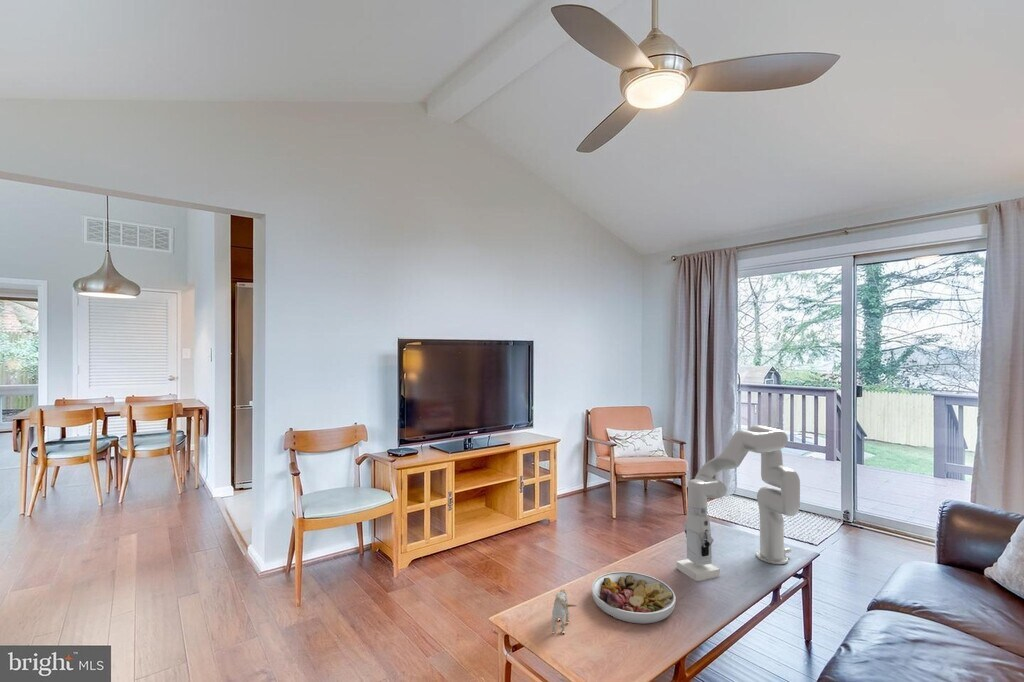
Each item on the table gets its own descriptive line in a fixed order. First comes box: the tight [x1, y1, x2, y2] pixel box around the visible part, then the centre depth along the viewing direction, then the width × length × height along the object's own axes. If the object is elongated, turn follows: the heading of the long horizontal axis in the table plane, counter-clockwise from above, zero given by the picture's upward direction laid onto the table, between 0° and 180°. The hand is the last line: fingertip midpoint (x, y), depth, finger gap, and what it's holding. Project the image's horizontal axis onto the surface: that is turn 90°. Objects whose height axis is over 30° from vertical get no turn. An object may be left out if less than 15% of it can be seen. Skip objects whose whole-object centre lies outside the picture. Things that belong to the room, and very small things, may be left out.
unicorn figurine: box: [551, 588, 578, 633], centre depth 155 cm, size 7×20×13 cm, turn 2°
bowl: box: [591, 571, 676, 624], centre depth 172 cm, size 30×30×8 cm
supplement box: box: [685, 529, 713, 565], centre depth 196 cm, size 7×7×13 cm
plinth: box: [675, 558, 721, 582], centre depth 196 cm, size 12×12×3 cm
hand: (697, 551), depth 196 cm, fingers closed on supplement box, 7 cm apart
